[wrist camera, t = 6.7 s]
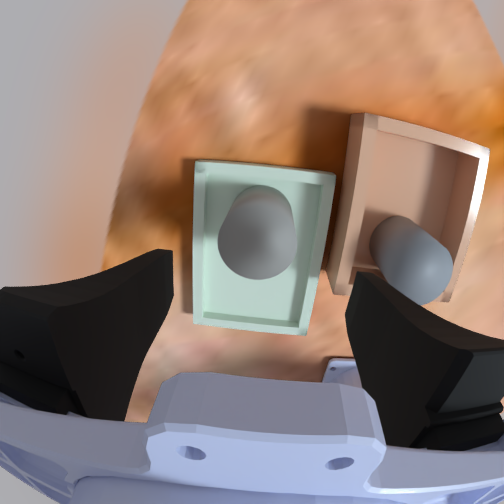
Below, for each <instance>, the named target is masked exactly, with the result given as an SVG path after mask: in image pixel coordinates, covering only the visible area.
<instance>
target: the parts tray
mask: <svg viewBox="0 0 504 504" xmlns="http://www.w3.org/2000/svg"><path fill="white" fill-rule="evenodd" d="M335 182H336V175H335V174H334V173H333V172H326V171H319V170H311V169H303V168H295V167H287V166H277V165H268V164H258V163H247V162H234V161H221V160H205V159H199V160H197V161H195V176H194V205H193V324H200V325H208V326H215V327H223V328H231V329H240V330H249V331H258V332H268V333H279V334H290V335H303V336H306V334H307V330H308V326H309V321H310V317H311V312H312V308H313V303H314V298H315V294H316V289H317V284H318V279H319V274H320V269H321V264H322V259H323V254H324V248H325V243H326V237H327V232H328V226H329V220H330V214H331V208H332V202H333V195H334V189H335ZM256 185H265V186H270V187H273V188H275V189H277V190H279V191H280V192H281V193H283V194H284V196H285V197H286V198H287V199H288V201H289V203H290V206H291V209H292V214H293V220H294V225H295V231H296V236H297V250H296V254H295V257H294V259H293V261H292V263H291V264H290V265H289V266H288V268H287V269H286V270H284V271H283V272H282V273H280V274H279V275H277V276H274V277H272V278H269V279H263V280H253V279H248V278H244V277H242V276H240V275H238V274H236V273H234V272H233V271H232V270H230V269H229V268H228V267H227V265H226V264H225V263H224V262H223V260H222V258H221V256H220V254H219V250H218V241H217V240H218V234H219V230H220V228H221V226H222V224H223V222H224V220H225V218H226V216H227V214H228V212H229V210H230V208H231V206H232V204H233V202H234V200H235V198H236V197H237V196H238V195H239V194H240V193H241V192H242V191H243V190H245V189H247V188H249V187H252V186H256Z"/></svg>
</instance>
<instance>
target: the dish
mask: <svg viewBox="0 0 504 504" xmlns="http://www.w3.org/2000/svg"><path fill="white" fill-rule="evenodd" d="M489 153H490V149H488V148H486V147H483V146H480V145H478V144H475V143H472V142H469V141H466V140H464V139H461V138H458V137H455V136H452V135H448V134H445V133H442V132H439V131H436V130H432V129H429V128H425V127H422V126H418V125H415V124H411V123H407V122H403V121H399V120H395V119H391V118H387V117H382V116H378V115H373V114H369V113H355V114H351V118H350V127H349V135H348V143H347V151H346V159H345V166H344V173H343V180H342V186H341V192H340V199H339V205H338V211H337V217H336V222H335V228H334V233H333V239H332V244H331V249H330V255H329V260H328V265H327V270H326V272H327V275H328V279H329V282H330V285H331V289H332V292H333V294H335V295H347V296H350V295H351V291H352V288H353V284H354V280H355V276H356V273H357V271H361V272H370V273H373V274H375V275H377V276H378V277H380V278H381V279H383V280H384V281H386V282H387V280H386V278H385V277H384V275H383V274H382V272H381V271H380V269H379V268H378V266H377V265H376V263H375V262H374V260H373V258H372V256H371V254H370V249H369V243H370V238H371V235H372V233H373V231H374V229H375V228H376V227H377V226H378V225H379V224H380V223H381V222H382V221H383V220H385V219H387V218H389V217H392V216H404V217H407V218H409V219H411V220H412V221H413V222H414V223H416V224H417V225H418V226H420V227H421V228H422V229H423V230H425V231H426V232H427V233H428V234H429V235H431V236H432V237H433V238H434V239H436V240H437V241H438V242H439V243H440V244H442V245H443V246H444V247H445V248H446V249H447V250H448V251H449V253H450V255H451V257H452V261H453V271H452V276H451V279H450V282H449V284H448V286H447V287H446V289H445V290H444V291H443V292H442V293H441V295H440V296H438V297H437V298H436V299H434V300H433V301H435V302H449V301H450V298H451V295H452V293H453V290H454V288H455V285H456V282H457V279H458V277H459V274H460V271H461V268H462V265H463V262H464V259H465V256H466V253H467V249H468V246H469V243H470V239H471V236H472V232H473V229H474V225H475V221H476V217H477V213H478V209H479V205H480V201H481V196H482V192H483V187H484V182H485V177H486V171H487V166H488V160H489ZM387 283H388V282H387Z"/></svg>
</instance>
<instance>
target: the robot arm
mask: <svg viewBox="0 0 504 504" xmlns="http://www.w3.org/2000/svg"><path fill="white" fill-rule="evenodd" d="M173 296H174V287H173V251H172V250H164V249H155V250H152V251H150V252H147V253H145V254H143V255H140V256H138V257H136V258H134V259H131V260H129V261H127V262H125V263H123V264H120V265H118V266H115V267H113V268H110V269H108V270H105V271H103V272H100V273H97V274H94V275H91V276H87V277H84V278H80V279H76V280H72V281H67V282H62V283H57V284H50V285H41V286H29V287H28V286H27V287H3V288H2V289H1V290H0V466H1V467H2V468H4V469H5V470H7V471H8V472H9V473H11V474H13V475H14V476H15V477H17V478H18V479H20V480H21V481H23V482H24V483H26V484H27V485H29V486H31V487H32V488H34V489H35V490H37V491H39V492H40V493H42V494H44V495H46V496H47V497H49V498H51V499H53V500H54V501H56V502H58V503H60V504H497V503H499V502H501V501H503V500H504V420H502V418H501V416H500V414H499V413H501V412H502V411H503V408H504V407H503V405H502V404H501V402H500V401H501V399H502V398H503V397H504V340H502V339H498V338H493V337H489V336H486V335H482V334H479V333H476V332H473V331H470V330H468V329H465V328H463V327H460V326H458V325H456V324H453V323H451V322H449V321H447V320H445V319H443V318H441V317H439V316H437V315H435V314H433V313H432V312H430V311H428V310H426V309H425V308H423V307H422V306H420V305H418V304H417V303H415V302H414V301H412V300H411V299H409V298H408V297H407V296H405V295H404V294H402V293H401V292H400V291H398V290H397V289H395V288H394V287H393V286H391V285H390V284H389V283H387V282H386V281H384V280H383V279H381V278H380V277H378V276H377V275H375V274H373V273H370V272H361V271H357V273H356V276H355V280H354V284H353V288H352V291H351V295H350V299H349V302H348V306H347V309H346V312H345V319H346V327H347V333H348V338H349V341H350V345H351V348H352V352H353V355H354V358H355V359H345V358H333V359H331V360H329V362H328V365H327V368H326V371H325V374H324V377H323V380H322V383H320V382H301V381H287V380H274V379H264V378H254V377H245V376H236V375H228V374H221V373H214V372H191V373H179V374H177V375H175V376H174V377H172V378H170V379H168V380H166V381H164V382H162V384H161V387H160V390H159V392H158V395H157V398H156V400H155V403H154V406H153V408H152V411H151V414H150V416H149V419H148V422H147V423H139V422H124V420H125V417H126V413H127V409H128V405H129V402H130V398H131V395H132V392H133V389H134V386H135V382H136V380H137V377H138V374H139V371H140V368H141V365H142V363H143V361H144V358H145V356H146V354H147V352H148V350H149V348H150V346H151V344H152V343H153V341H154V339H155V337H156V335H157V333H158V331H159V329H160V327H161V326H162V324H163V322H164V320H165V318H166V316H167V314H168V311H169V308H170V305H171V302H172V299H173ZM332 367H334V368H332Z"/></svg>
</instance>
